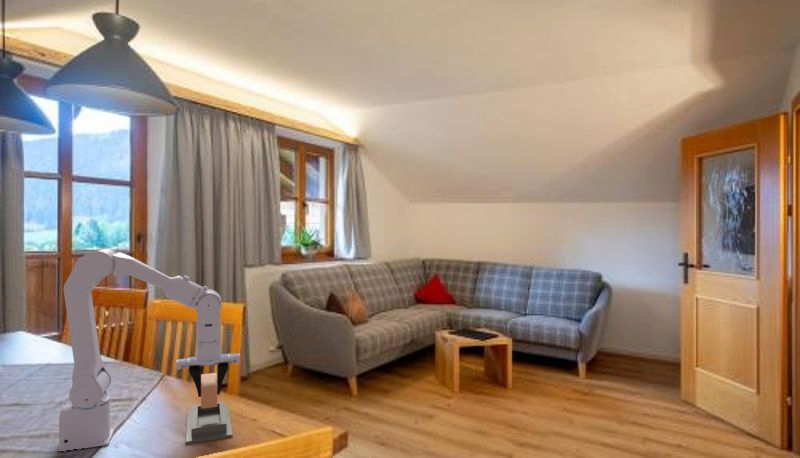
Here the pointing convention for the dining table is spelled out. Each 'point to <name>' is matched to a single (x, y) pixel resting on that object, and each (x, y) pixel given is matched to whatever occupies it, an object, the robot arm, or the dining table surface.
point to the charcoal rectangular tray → (208, 423)
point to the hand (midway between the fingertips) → (209, 394)
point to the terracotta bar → (208, 390)
